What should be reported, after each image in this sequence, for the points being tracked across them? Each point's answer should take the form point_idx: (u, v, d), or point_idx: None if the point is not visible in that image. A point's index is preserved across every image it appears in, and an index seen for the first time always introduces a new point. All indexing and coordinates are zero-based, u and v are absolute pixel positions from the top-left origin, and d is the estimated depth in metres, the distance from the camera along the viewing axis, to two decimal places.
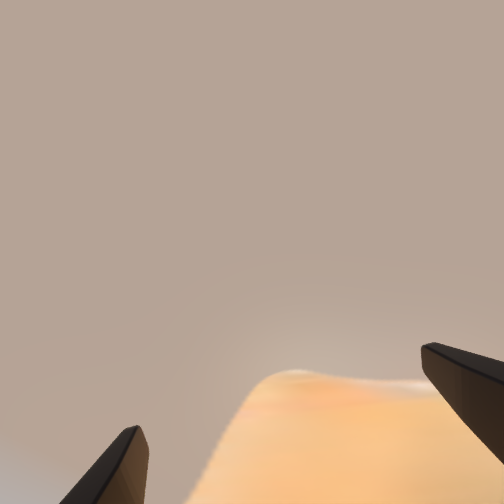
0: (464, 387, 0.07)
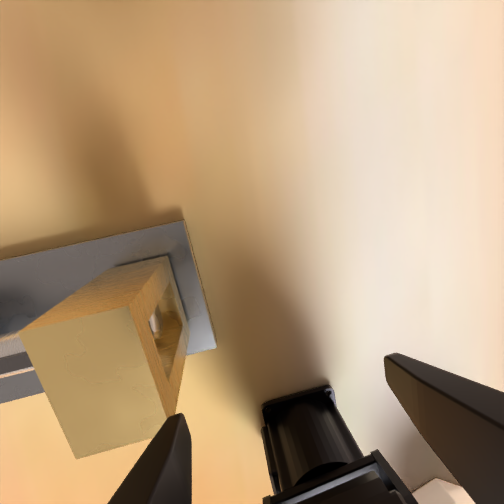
0: (420, 400, 0.07)
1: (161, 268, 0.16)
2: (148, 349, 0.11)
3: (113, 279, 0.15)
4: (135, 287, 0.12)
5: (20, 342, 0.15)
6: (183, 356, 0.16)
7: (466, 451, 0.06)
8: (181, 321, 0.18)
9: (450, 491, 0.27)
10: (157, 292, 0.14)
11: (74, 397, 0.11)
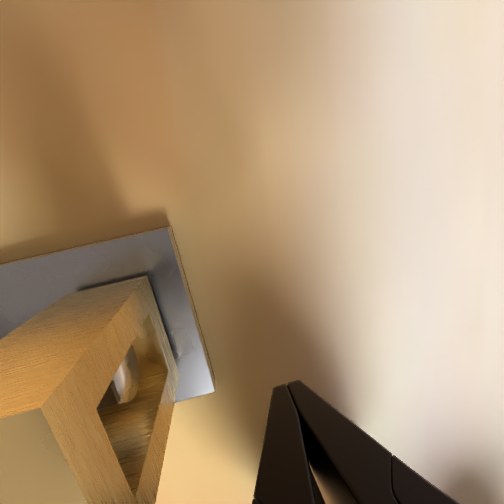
0: (304, 434, 0.07)
1: (134, 298, 0.11)
2: (92, 468, 0.06)
3: (59, 319, 0.10)
4: (78, 346, 0.07)
5: None
6: (167, 422, 0.12)
7: (331, 494, 0.06)
8: (166, 366, 0.13)
9: None
10: (123, 340, 0.09)
11: None
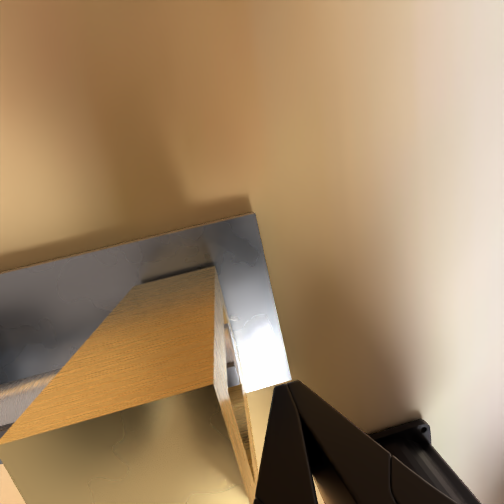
0: (303, 435, 0.07)
1: (216, 287, 0.11)
2: (238, 450, 0.06)
3: (150, 307, 0.10)
4: (199, 329, 0.07)
5: None
6: (248, 413, 0.11)
7: (330, 494, 0.06)
8: None
9: None
10: (221, 327, 0.09)
11: None
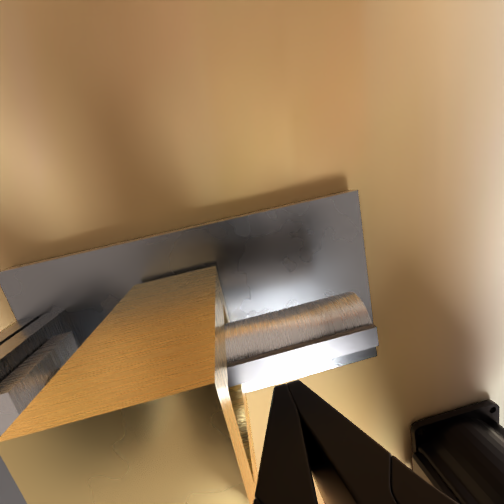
0: (303, 435, 0.07)
1: (216, 287, 0.11)
2: (238, 449, 0.06)
3: (151, 306, 0.10)
4: (200, 328, 0.07)
5: None
6: (247, 413, 0.11)
7: (331, 494, 0.06)
8: None
9: None
10: (222, 326, 0.09)
11: None
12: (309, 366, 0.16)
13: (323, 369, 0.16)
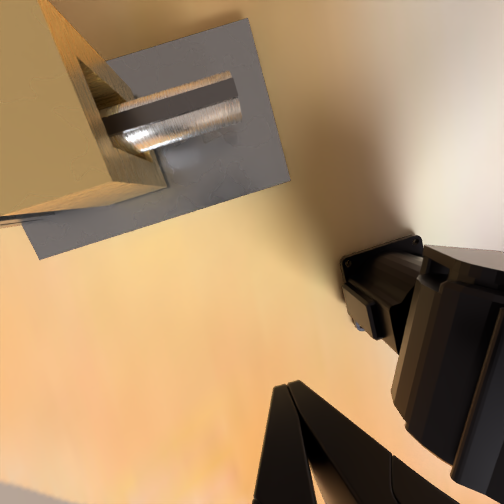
0: (304, 434, 0.07)
1: (115, 75, 0.14)
2: (72, 69, 0.09)
3: None
4: None
5: None
6: (150, 179, 0.14)
7: (331, 494, 0.06)
8: (151, 158, 0.16)
9: None
10: (103, 73, 0.12)
11: None
12: (230, 191, 0.18)
13: (243, 194, 0.19)
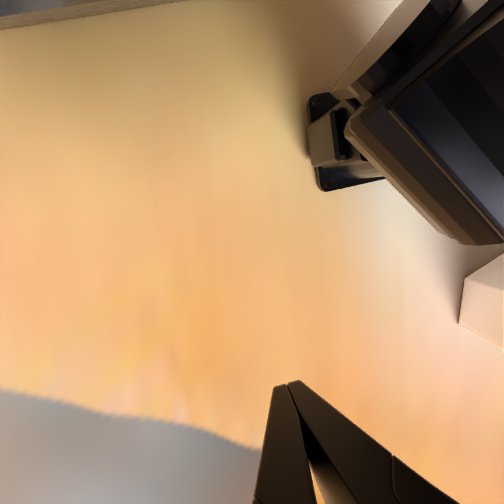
0: (304, 434, 0.07)
1: None
2: None
3: None
4: None
5: None
6: None
7: (331, 494, 0.06)
8: None
9: None
10: None
11: None
12: None
13: None
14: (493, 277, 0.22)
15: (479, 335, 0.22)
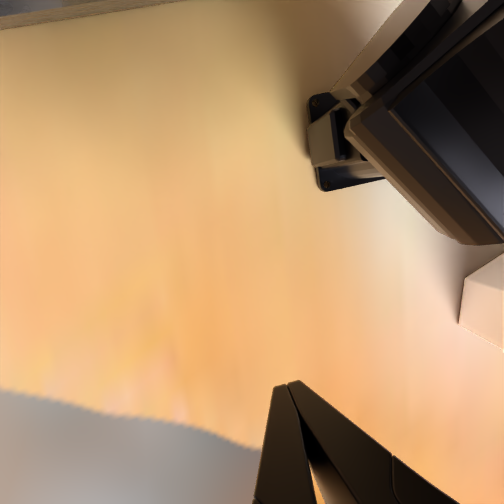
0: (304, 434, 0.07)
1: None
2: None
3: None
4: None
5: None
6: None
7: (331, 494, 0.06)
8: None
9: None
10: None
11: None
12: None
13: None
14: (493, 277, 0.22)
15: (479, 335, 0.22)
